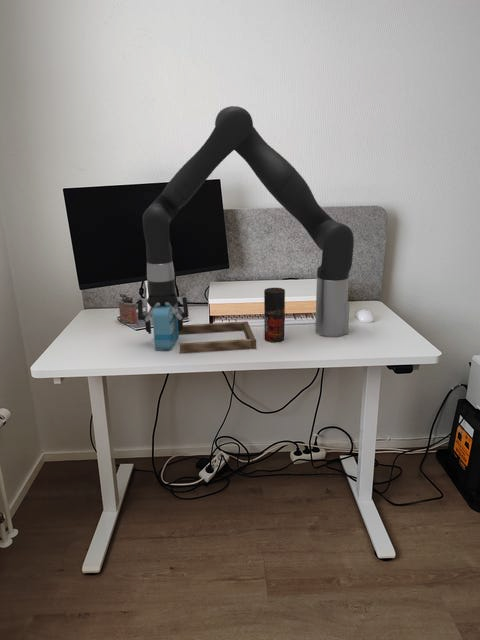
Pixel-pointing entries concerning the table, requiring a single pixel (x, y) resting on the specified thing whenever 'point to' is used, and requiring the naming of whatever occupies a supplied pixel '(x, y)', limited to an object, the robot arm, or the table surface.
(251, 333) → the walnut u-shaped frame
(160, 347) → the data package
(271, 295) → the deodorant
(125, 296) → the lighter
